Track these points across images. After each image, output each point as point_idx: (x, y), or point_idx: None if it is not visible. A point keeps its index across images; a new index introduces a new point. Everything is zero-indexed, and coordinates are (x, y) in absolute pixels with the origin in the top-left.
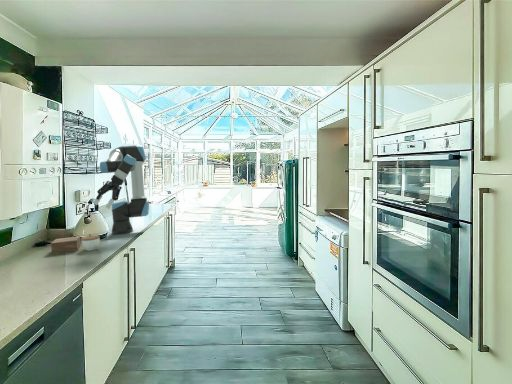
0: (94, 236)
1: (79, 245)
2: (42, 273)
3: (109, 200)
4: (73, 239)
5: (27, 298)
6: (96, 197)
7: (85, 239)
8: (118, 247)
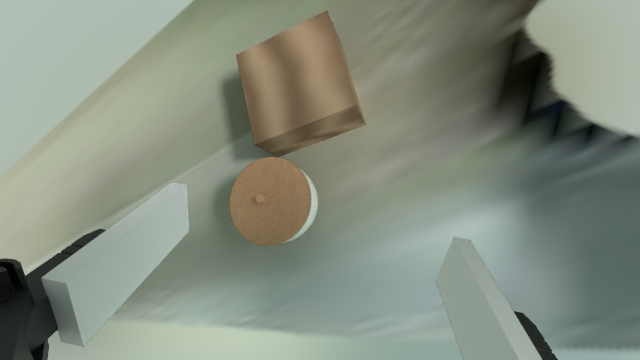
0: (265, 221)
1: (327, 133)
2: (67, 190)
3: (500, 326)
4: (281, 116)
5: None
6: (81, 239)
7: (230, 195)
8: (294, 326)
